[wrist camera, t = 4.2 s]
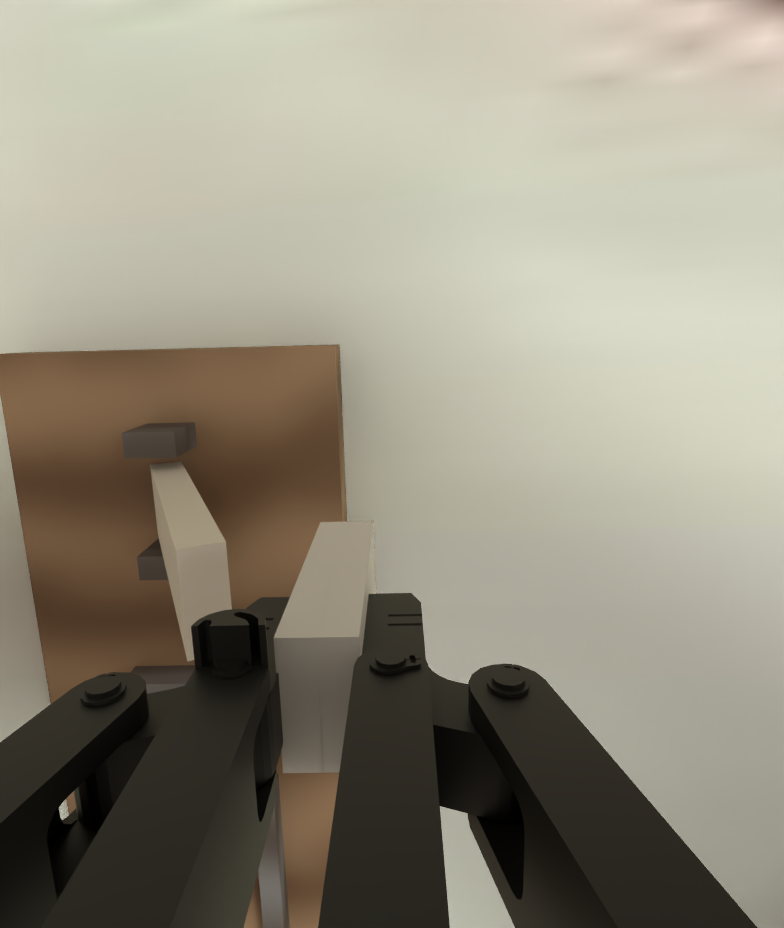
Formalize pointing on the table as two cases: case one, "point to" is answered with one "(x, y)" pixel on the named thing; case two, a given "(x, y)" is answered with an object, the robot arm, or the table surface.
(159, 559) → the control board
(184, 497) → the toggle lever
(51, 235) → the table surface
